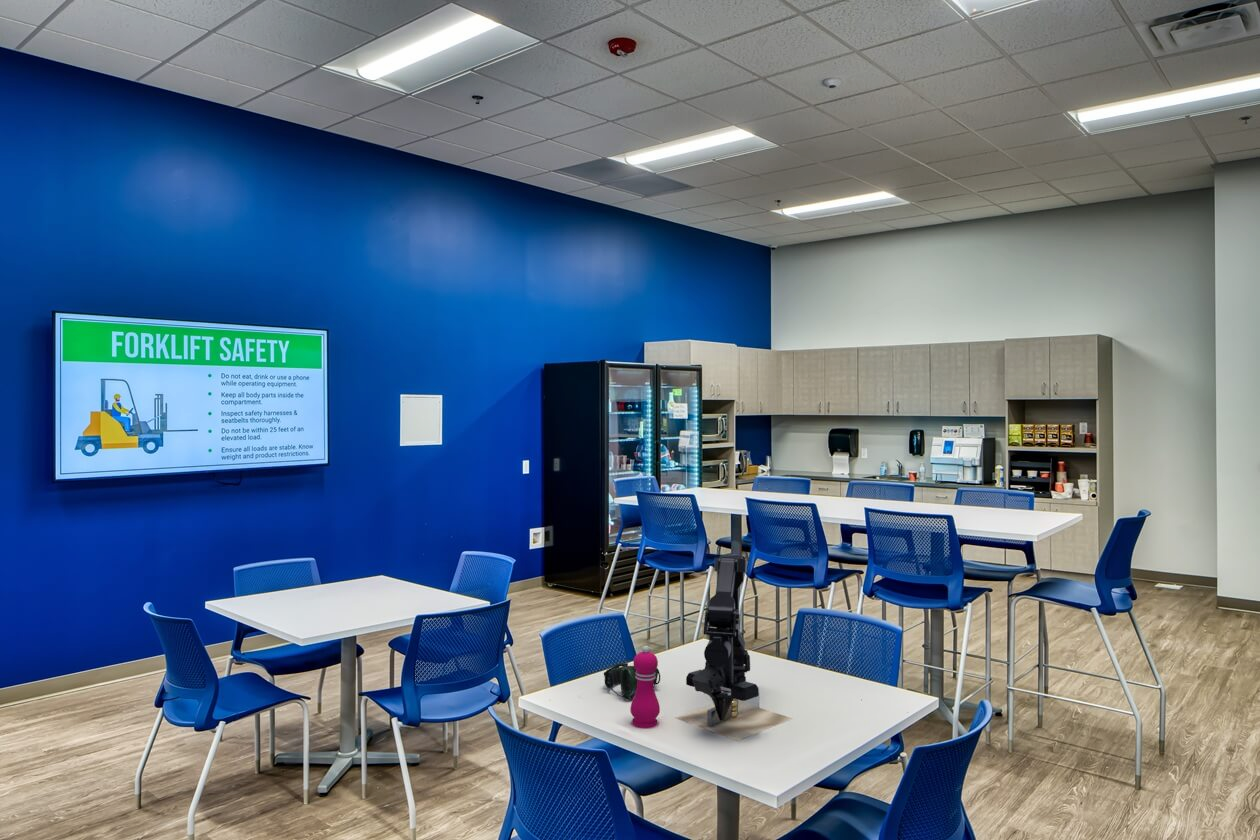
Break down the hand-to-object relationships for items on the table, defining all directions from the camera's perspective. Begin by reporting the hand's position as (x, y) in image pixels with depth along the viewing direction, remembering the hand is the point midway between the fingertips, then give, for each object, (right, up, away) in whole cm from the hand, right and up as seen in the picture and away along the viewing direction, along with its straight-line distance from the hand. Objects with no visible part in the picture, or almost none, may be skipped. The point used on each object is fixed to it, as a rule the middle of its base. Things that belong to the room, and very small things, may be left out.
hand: (721, 720), depth 199 cm
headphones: (-22, -3, +29) cm, 37 cm away
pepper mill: (-19, -3, +2) cm, 19 cm away
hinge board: (+4, -3, +6) cm, 8 cm away
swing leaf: (+1, -1, +4) cm, 4 cm away
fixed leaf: (+7, -2, +11) cm, 13 cm away
